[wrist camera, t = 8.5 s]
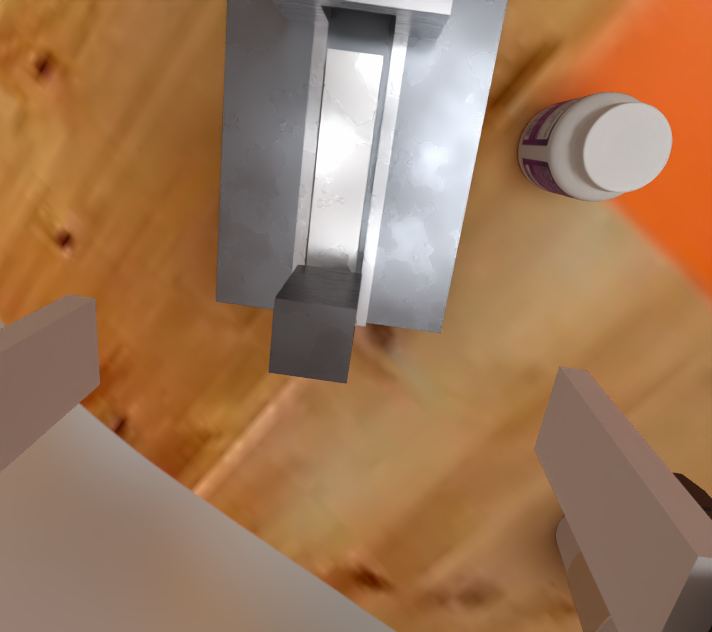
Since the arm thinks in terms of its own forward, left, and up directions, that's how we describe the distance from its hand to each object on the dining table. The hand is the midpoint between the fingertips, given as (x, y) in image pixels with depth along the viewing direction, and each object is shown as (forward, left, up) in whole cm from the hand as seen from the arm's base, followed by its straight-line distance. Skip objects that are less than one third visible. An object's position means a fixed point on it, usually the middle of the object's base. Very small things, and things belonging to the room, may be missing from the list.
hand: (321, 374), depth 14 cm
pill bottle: (-8, +12, -22) cm, 26 cm away
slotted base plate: (-8, -1, -22) cm, 23 cm away
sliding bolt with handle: (-3, -1, -20) cm, 20 cm away
